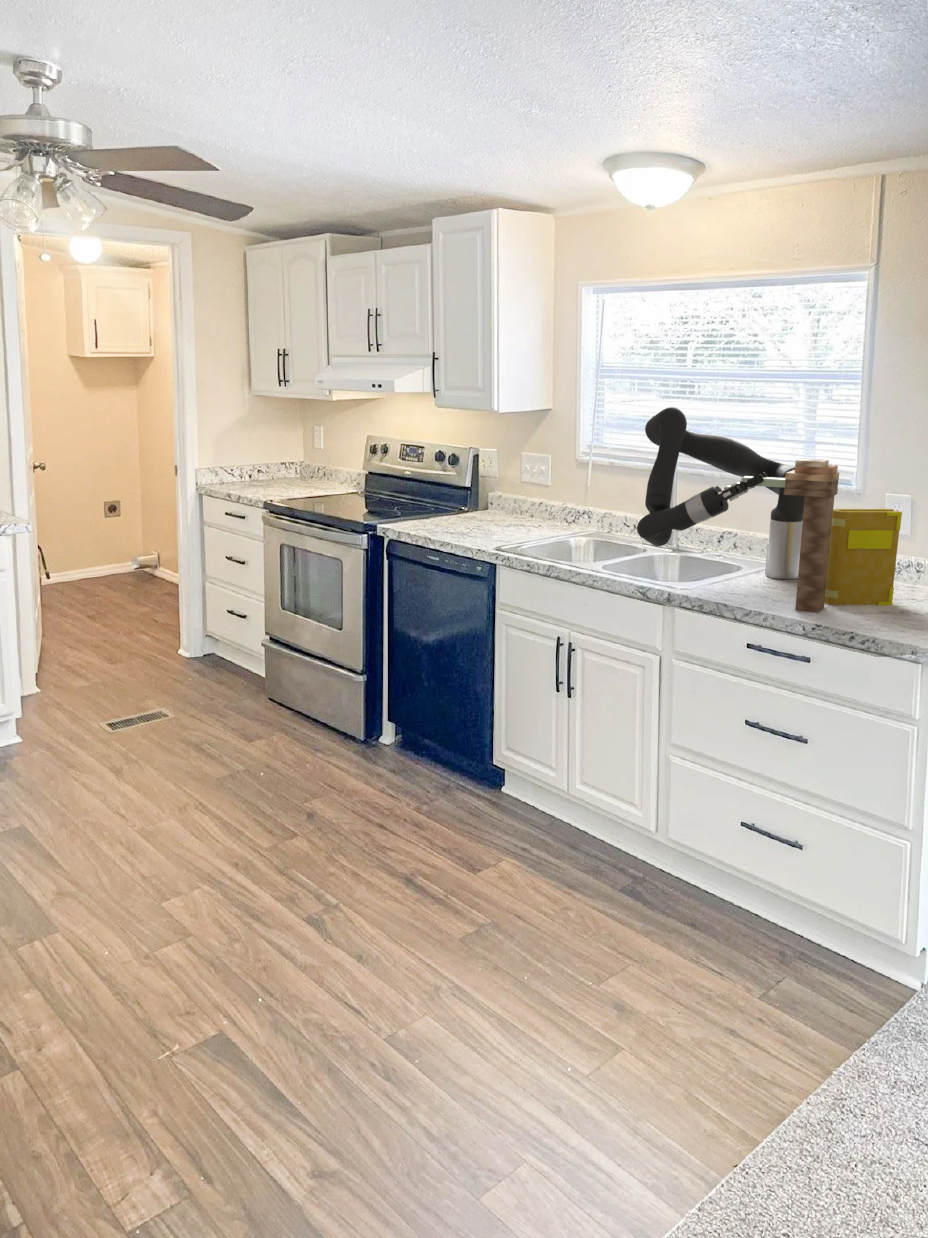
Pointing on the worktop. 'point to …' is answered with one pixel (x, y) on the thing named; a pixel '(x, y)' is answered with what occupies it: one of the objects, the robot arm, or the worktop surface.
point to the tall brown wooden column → (813, 527)
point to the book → (862, 556)
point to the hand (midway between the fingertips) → (764, 476)
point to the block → (768, 481)
